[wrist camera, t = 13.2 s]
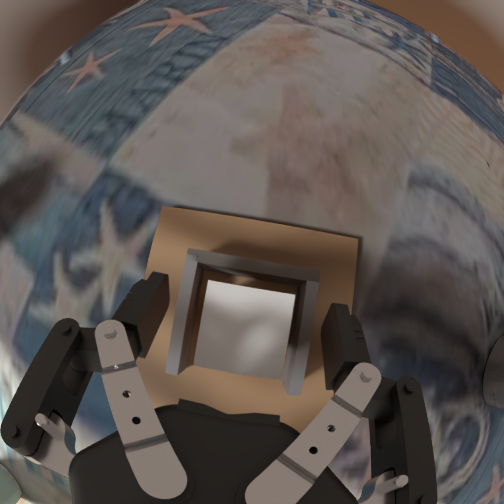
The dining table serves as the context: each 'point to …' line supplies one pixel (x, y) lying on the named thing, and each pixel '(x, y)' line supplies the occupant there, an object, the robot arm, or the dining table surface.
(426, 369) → the dining table surface
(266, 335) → the plug
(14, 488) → the disposable coffee cup
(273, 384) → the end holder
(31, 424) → the robot arm
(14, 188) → the dining table surface
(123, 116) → the dining table surface
